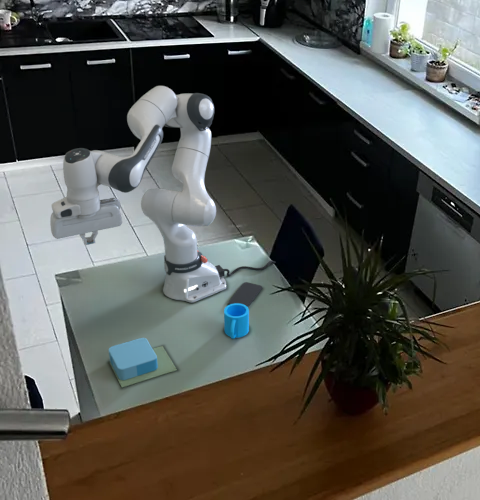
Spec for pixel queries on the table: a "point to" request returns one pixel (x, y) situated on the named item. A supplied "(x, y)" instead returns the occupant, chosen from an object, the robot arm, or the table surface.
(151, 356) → the data package
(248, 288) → the phone
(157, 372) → the mat
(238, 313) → the mug
